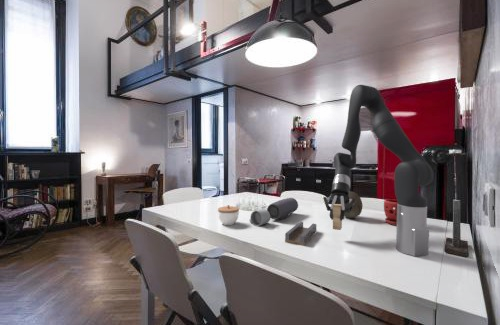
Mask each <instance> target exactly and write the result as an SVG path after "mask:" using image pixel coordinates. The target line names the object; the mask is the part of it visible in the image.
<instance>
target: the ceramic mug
mask: <svg viewBox="0 0 500 325" xmlns="http://www.w3.org/2000/svg"><path fill="white" fill-rule="evenodd" d="M248 220H249V223H252V225H254V226H255V227H260V226H263V225H266V224H267V223H269V222H270V221H271V216H270V213H269V212H268V211H267V209H256V210H253V211H252V212H251V213H250V218H249V219H248Z"/></svg>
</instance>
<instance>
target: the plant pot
mask: <svg viewBox="0 0 500 325" xmlns="http://www.w3.org/2000/svg"><path fill="white" fill-rule="evenodd" d="M383 211H384V214H385V217H386V218H384V221H385V222H386V223H387V224H389V225H393V226H396V227H397V199H384V200H383Z"/></svg>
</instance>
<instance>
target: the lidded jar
mask: <svg viewBox="0 0 500 325" xmlns="http://www.w3.org/2000/svg"><path fill="white" fill-rule="evenodd" d="M239 210H240V208H239V207H236V206H231V205H227V206H220V207H218V208H217V212H218V213H217V215H218V219H219V221H220V222H221V223H222V225H224V226H232V225H235V223H236V222H237V221H238V219H239V213H240V211H239Z"/></svg>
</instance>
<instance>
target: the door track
mask: <svg viewBox="0 0 500 325" xmlns="http://www.w3.org/2000/svg"><path fill="white" fill-rule="evenodd" d="M316 232H318V231H317V223H312V224H311V225H310V226H309V227H304V221H299V222H297V223H296V224H295V225H294V226H293V227H291V228H290V229H289V230H288V231H286V232H285V234H284V236H285V237H284V242H285V243H288V244H294V245H298V246H299V245H301V246H306V244H307V243H308V242H309V241H310V240H311V238H312V237H314V236H315V234H316Z"/></svg>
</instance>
